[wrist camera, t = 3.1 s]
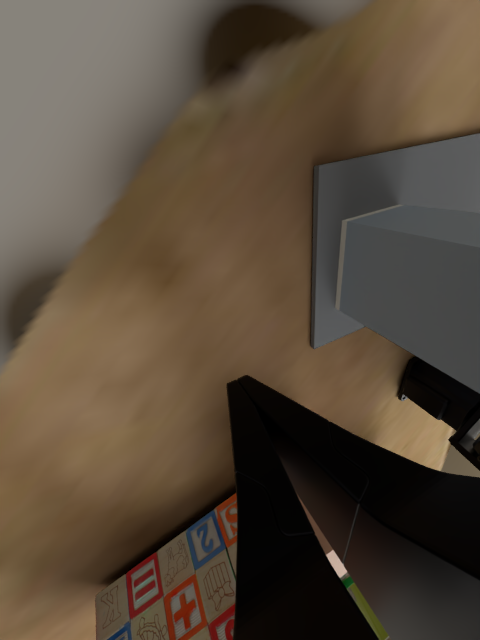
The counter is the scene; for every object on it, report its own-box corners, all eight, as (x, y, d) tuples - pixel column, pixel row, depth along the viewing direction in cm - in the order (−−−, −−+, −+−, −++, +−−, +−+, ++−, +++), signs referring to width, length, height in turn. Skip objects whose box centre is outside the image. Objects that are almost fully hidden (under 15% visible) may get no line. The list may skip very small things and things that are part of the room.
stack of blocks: (293, 447, 24) (415, 629, 15) (304, 463, 28) (404, 613, 20) (93, 596, 22) (99, 915, 13) (137, 590, 26) (165, 825, 17)
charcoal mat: (523, 123, 18) (531, 123, 18) (464, 279, 24) (469, 280, 24) (314, 166, 13) (319, 165, 13) (310, 346, 19) (314, 349, 19)
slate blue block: (398, 204, 16) (631, 228, 9) (382, 289, 19) (542, 356, 12) (342, 220, 15) (559, 263, 8) (335, 308, 18) (482, 395, 11)
